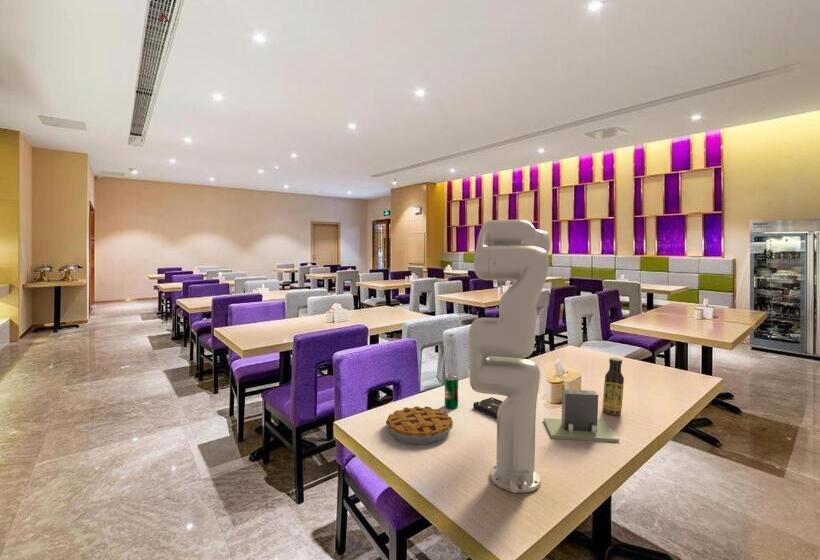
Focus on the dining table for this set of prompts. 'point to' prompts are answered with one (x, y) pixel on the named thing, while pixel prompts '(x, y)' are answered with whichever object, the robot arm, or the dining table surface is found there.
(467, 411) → the dining table surface
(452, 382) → the soda can
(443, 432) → the pie
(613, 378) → the sauce bottle
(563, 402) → the dark grey thick block
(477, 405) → the disk drive
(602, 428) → the dock
